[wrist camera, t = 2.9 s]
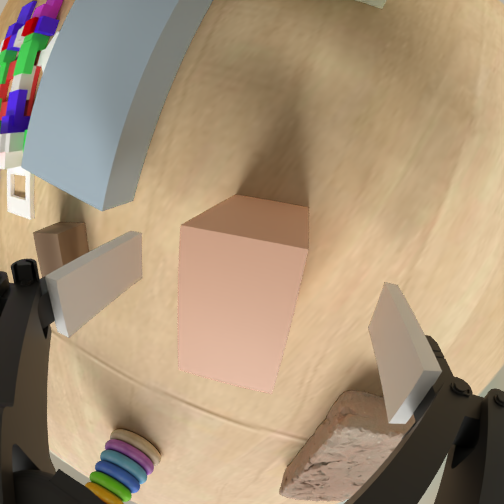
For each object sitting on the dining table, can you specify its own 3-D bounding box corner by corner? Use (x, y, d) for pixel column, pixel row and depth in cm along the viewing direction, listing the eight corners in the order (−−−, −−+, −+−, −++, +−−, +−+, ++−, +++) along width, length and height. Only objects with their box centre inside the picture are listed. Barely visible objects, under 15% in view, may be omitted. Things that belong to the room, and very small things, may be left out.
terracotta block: (224, 294, 20) (178, 369, 12) (235, 194, 17) (180, 225, 10) (287, 308, 19) (271, 393, 12) (308, 207, 17) (308, 249, 9)
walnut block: (74, 292, 23) (51, 308, 20) (60, 221, 21) (33, 232, 18) (99, 298, 23) (75, 317, 20) (86, 222, 20) (57, 234, 17)
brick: (340, 386, 21) (342, 429, 17) (419, 398, 20) (430, 436, 16) (282, 466, 27) (276, 497, 23) (343, 475, 26) (342, 504, 22)
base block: (54, 161, 20) (21, 167, 16) (137, -38, 12) (113, -57, 8) (136, 199, 19) (101, 211, 16) (240, -38, 12) (225, -68, 8)
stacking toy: (172, 454, 30) (120, 558, 13) (149, 461, 33) (102, 548, 16) (124, 421, 29) (56, 523, 12) (108, 432, 32) (51, 516, 15)
